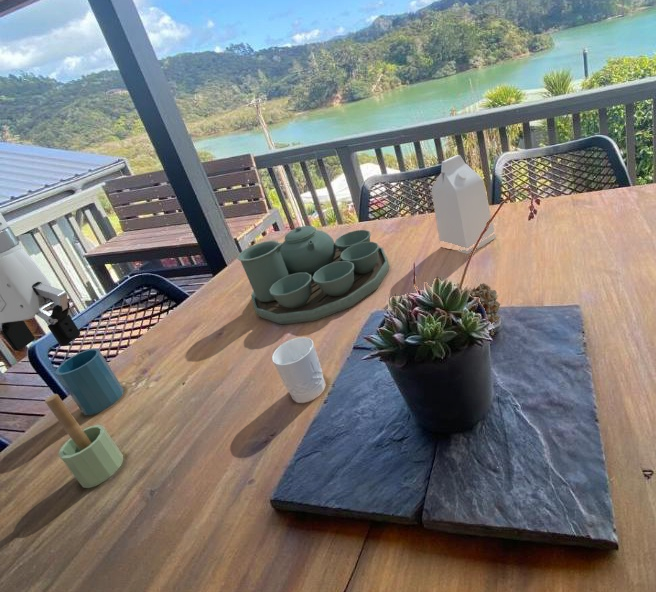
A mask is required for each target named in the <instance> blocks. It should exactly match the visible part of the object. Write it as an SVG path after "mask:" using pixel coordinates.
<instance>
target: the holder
mask: <svg viewBox="0 0 656 592" xmlns="http://www.w3.org/2000/svg"><path fill="white" fill-rule="evenodd" d="M82 430H83V431H84V433H85V434H86V436H87V437H88V438H89V440H90V441H91V444H90V445H89V446H88V447H86V448H85V449H83V450H82V451H80V450H79V448H78V447H77V446H76V444H75V443H74V441H73V440H72V439H71V437H69V439H67V440H66V441H65V442H64V443H63V445H62V446H61V447H60V449H59V452H58V457H59V459H60V460H61V462H62V463H63V464H64V465H65V466H66V467H67V469H68V471H69V472H70V473H71V474H72V476H73V477H74V479H75V480H76V481H77V482H78V484H79V485H80V486H81V487H82V488H84V489H89V488H94V487H96V486H99V485H100V484H102V483H104V482H105V481H108V479H110V478H111V477H112V476H113V475H115V473H116V472H117V471H118V470H119V469H120V468H121V466H122V464H123V462H124V455H123V453H122V452H121V450H120V448H119V447H118V445H117V444H116V443H115V441H114V440H113V438H112V437H111V434H109V432H108V431H107V429H106V428H105V427H104V426H103V425H101V424H94V425H93V424H92V425H91V426H87V427H85V428H83V429H82Z"/></svg>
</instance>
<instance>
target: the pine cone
mask: <svg viewBox="0 0 656 592" xmlns="http://www.w3.org/2000/svg"><path fill="white" fill-rule="evenodd" d="M496 290H497V289H492V287H491V286H490V285H488V284H486V283H484V282H483V283H479V285H478V286H477V287H476V286H473V288H471V289H470V290H469V292H470V295H471V296H472V297H479V298H480V302H481V304H482V305H483V307H484V308H485V311H486V314H487V317H488V320H489V321H490V322H491V324H492V323H493V322H495V320H497V323H498V322H500V318H501V317H500V315H499V314H498V312H499V311H500V310H501V307H500V306H501V303H500V302H499V301H498V294H497V291H496ZM494 332H495V331H494ZM494 332H493V328H492V330H491V335H492V336H494V334H495V333H494Z"/></svg>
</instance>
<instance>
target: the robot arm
mask: <svg viewBox="0 0 656 592" xmlns="http://www.w3.org/2000/svg"><path fill="white" fill-rule="evenodd" d="M70 307H71V303H70V302H69V299H68V293H67V292H66V291H65V290H63V289H60V288H57V287H54V286H53V285H52V284H51V283H50V281H49V280H48V278H47V277H46V276H45V274H44V272H43V271H42V270H41V268H40V267H39V266H38V265H37V263H36V262H35V261H34V260H33V258H32V257H31V256H30V255H29V254H28V253H27V251H25V249H24V248H23V247H22V244H21V243H20V240H19V239H18V238H17V236H16V235H15V232H14V231H13V230H12V228H11V227H10V225H9V223H8V222H7V221H6V219H5V217H4V216H3V213H2V212H1V211H0V333H1V334H2V336H3V338H4V339H5V340H6V342H7V343H8V345H9V346H10V347H11V349H12V350H13V351H14V352H18V351H21V350H23V349H24V348H25V347H26V346H28V345H29V344H31V343H33V342H34V341H35V339H36V337H35V335H34V334H33V332H32V331H31V329H30V328H29V326H28V325H27V324H26V322H25V321H28V320H31V319H33V318H35V317H36V316H38V317H39V318H40V319H42V320H44V321H45V322H47V323H49V324H48V325H47V328H48V330H49V331H50V332H51V334H52V335H53V337H54V338H55V340H56V342H57V343H58V345H59V346H60V347H66V346H67V345H69V344H71V342H73V341H74V340H76V339H77V338H78V337H79V336H81V331H80V329H79V328H78V327H77V325H76V324H75V321H74V320H73V318H72V317H71V315H70V314H71V310H70ZM51 309H52V311H51V313H50V312H48V311H49V310H51Z"/></svg>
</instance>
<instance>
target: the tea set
mask: <svg viewBox="0 0 656 592" xmlns="http://www.w3.org/2000/svg"><path fill="white" fill-rule="evenodd" d="M236 259H237V260H238V261H240V263H241V266H242V269H243V271H244V272H245V275H246V277H247V279H248V282H249V284H250V286H251V288H252V293H251V294H250V297H251V301H252V305H253V308H254V311H255V313H256V315H257V316H258V317H259V318H262V319H265V320H267V321H270V322H272V323H276V324H279V325H288V324H296V323H298V324H299V323H306V322H307V323H308V322H313V321H314V322H315V321H318V320H321V319H323V318H325V317H328V316H332V315H333V314H336V313H339V312H341V311H345V310H347V309H349V308H352V307H353V306H354V305H356V304H357V303H359V302H361V301H362V300H363V299H365V298H366V297H368V296H369V295H370V294H371V293H373V292H375V291H376V290H377V289H379V287H380V285H381V284H382V282H383V280H384V278H385V277H386V276H387V274H388V272H389V270H390V263H389V261H388V257H387V256H386V253H385V250H384V248H383V247H381V246H380V245H379V244H378V242H375V241H371V232H370V231H369V230H366V229H356V230H353V231H349V232H347V233H345V234H342V235H340V236H339V237H338V238H336V239H335V241H334V239H333V238H332V236H331V235H330V234H329V233H327V232H326V231H323V230H319V229H316V227H315V226H313V225H304V226H296V227H295V228H294V229H292V230H289V232H287V233H286V234H285V236H284V241H283V242H280V241H278V240H267V241H261V242H259V243H256V244H253V245H251V246H249V247H246V248H244V250H242V251H241V252H240V253H238V255H237V258H236Z"/></svg>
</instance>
